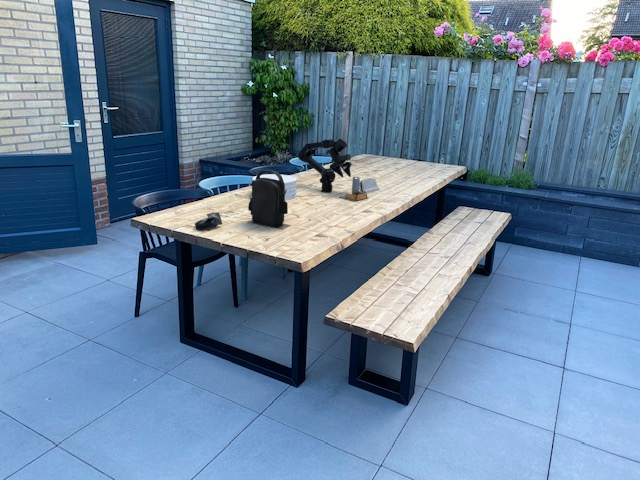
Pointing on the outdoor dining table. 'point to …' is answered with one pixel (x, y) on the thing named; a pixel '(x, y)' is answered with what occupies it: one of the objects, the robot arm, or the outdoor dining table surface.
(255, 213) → the black backpack
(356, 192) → the grey piece
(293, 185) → the plate stack
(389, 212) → the outdoor dining table surface
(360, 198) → the keeper cradle
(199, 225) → the caster wheel
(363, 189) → the hinge
